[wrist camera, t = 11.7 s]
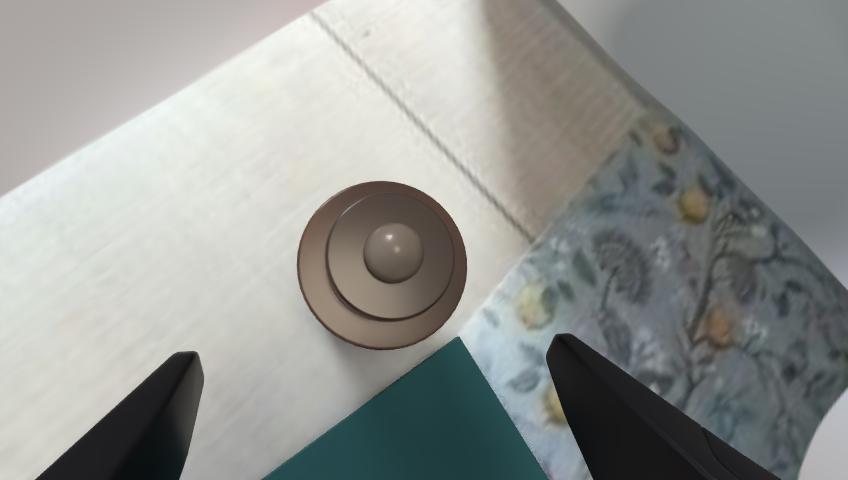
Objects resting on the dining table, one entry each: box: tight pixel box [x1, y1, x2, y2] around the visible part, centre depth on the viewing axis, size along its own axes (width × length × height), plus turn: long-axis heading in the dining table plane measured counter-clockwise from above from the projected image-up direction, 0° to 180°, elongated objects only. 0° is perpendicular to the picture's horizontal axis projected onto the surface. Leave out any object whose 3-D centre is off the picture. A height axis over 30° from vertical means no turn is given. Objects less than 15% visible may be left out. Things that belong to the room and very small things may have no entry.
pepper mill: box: [297, 181, 467, 350], centre depth 14 cm, size 5×5×11 cm
